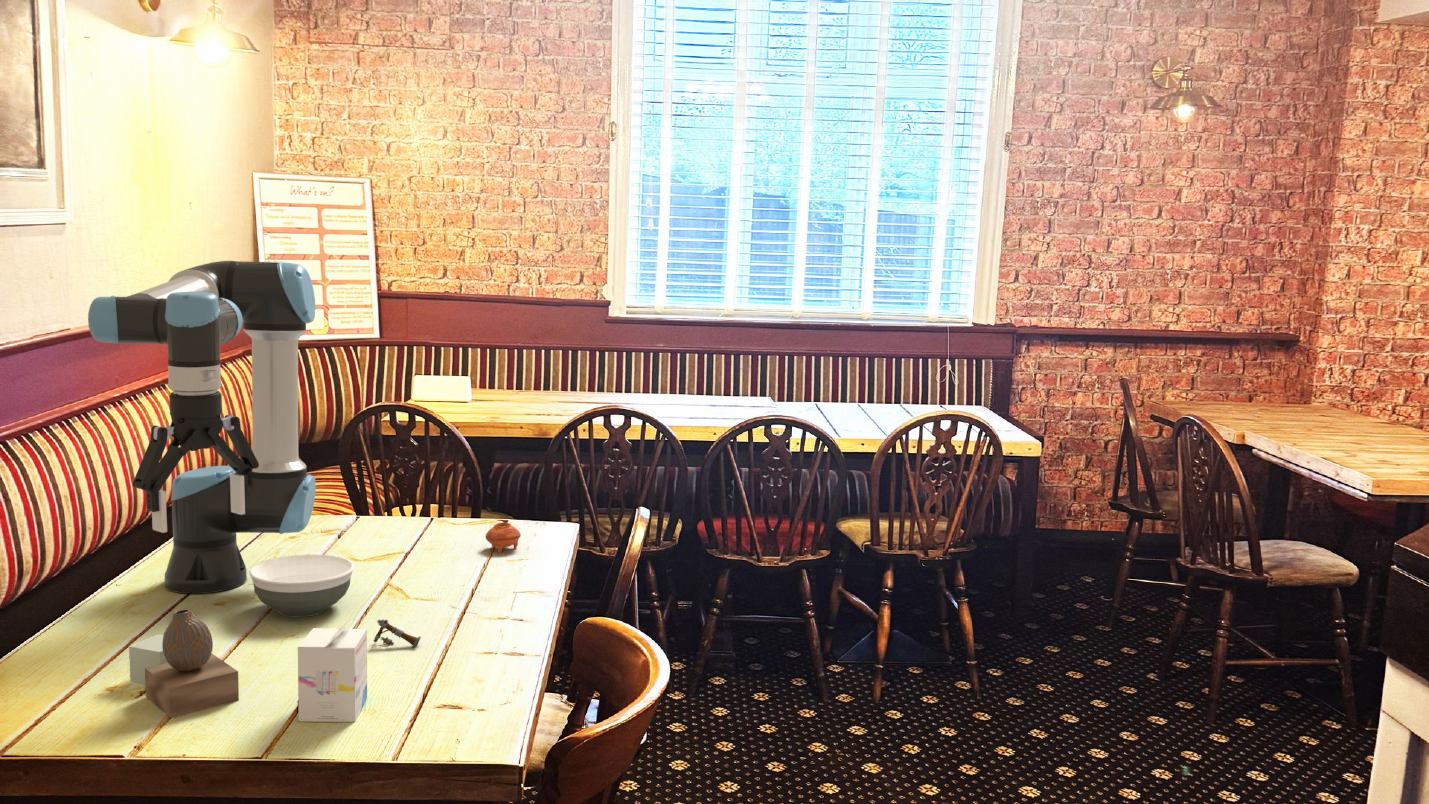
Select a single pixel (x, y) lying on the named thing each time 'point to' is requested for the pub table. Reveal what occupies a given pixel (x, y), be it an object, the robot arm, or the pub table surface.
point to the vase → (187, 641)
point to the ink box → (332, 675)
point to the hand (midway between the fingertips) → (200, 521)
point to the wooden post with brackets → (396, 632)
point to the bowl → (302, 583)
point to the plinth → (191, 687)
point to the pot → (503, 536)
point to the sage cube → (145, 657)
